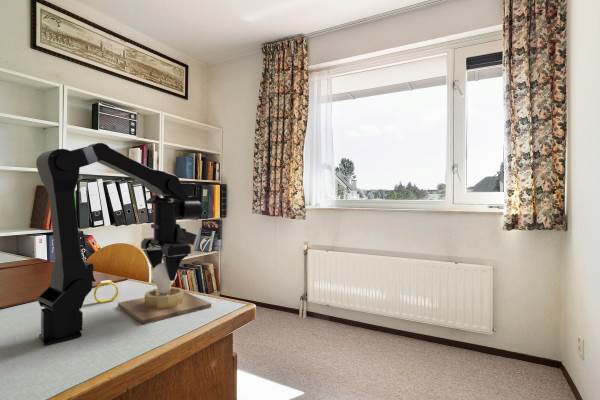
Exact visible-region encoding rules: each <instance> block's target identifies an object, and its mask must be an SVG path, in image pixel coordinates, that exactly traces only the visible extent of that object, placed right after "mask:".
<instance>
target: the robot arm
mask: <svg viewBox="0 0 600 400" xmlns="http://www.w3.org/2000/svg"><path fill="white" fill-rule="evenodd" d="M35 163H36V165H35V166H36V169H37V171H38V175H39V178H40V181H41V183H42V184H43V187H44V188H45V190H46V192H47V195H48V200H49V201H48V202H49V210H50V219H51V220H50V221H51V227H52V236H53V238H52V239H53V245H54V254H55V260H54V263H53V266H52V269H51V273H50V283H49V284H50V285H48V287H46V289H45V290H43V292H41V294H39V295H38V297H37V298H36V300H37V302H38V305H39V307H40V308H41V307H42V308H41V309H40V333H39V335H38V336H39V339H40V341H41V343H42V345H43V346H46V345H52V344H55V343H60V342H64V341H67V340H72V339H76V338H79V337H82V335H83V333H82V331H83V314H84V313H83V311H82V310H81V309H82V307H83V305H84V302H85V300H86V298H87V296H89V294H90V292H91V291H92V289H93V286H94V285H93V283H95V282H96V279H95V276H94V264H93V263H92V262H88V261H84V259H83V257H82V253H81V243H80V234H79V226H78V215H77V207H76V204H77V203H76V197H75V190H76V188H77V184H78V181H79V178H80V170H81V169H80V168H83V167H86V166H90V165H92V164H95V163H97V164H101V165H102V166H105V167H107V168H109V169H111V170H113V171H116V172H118V173H120V174H122V175H124V176H126V177H129V178H130V179H133V180H135V181H137V182H139V183H141V185H142V186H144V188H145V189H147V190H148V191H149V192H151V193H153V194H152V195H151V196H150V197H149V198H148V199H147V200H146V201H145V203H146V204H148V205H153V223H151V224H150V228H151V229H153V237H147V238H143V239H142V240H141V243H140V247H141V249H142V251H143V252H144V254H145V256H146V258H147V260H148V262H149V263H150V264H149V265H150V266H151V268H152V270H153V269H154V268H155V267H156V266H157V265H158V264H160V263H164V264H165V267H166V271H167V274H168V277H169V279H170V281H173V280H176V279H175V277H176V274H177V275H178V271H179V268H180V264H181V263H182V261H183V260H184V259H185V258H187V257H188V256H189V255H190V254H192V246H194V245H195V242H196V239H197V236H198V235H197V234H196V233H192V232H189V231H187V229H186V228H183V227H181V225H180V223H177V220H197V219H199V218H201V216H202V213H203V207H202V203H201V202H200V201H199V199H198V198H199V196H198V195H190V196H189V195H188V194H187V192H186V191H185V190H184V188H183V186H182V184H181V181H180V178H179V177H178V176H177V175H175V174H173V173H171V172H170V173H169V172H166V171H163V170H158V169H153V168H150V167H149V166H147V165H145V164H143V163H141V162H139V161H137V160H136V159H133V158H132V157H129V156H127V155H125V154H123V153H121V152H119V151H118V150H116V149H113V148H111V147H110V146H109V145H107V144H106V143H103V142H96V143H92V144H89V145H87V146H83V147H80V148H76V149H72V150H69V149H66V148H57V149H52V150H47V151H45V152H42V153H41V154H39V156H38V157H36V162H35ZM160 196H161V197H160ZM176 278H177V277H176Z"/></svg>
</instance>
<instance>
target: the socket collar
mask: <svg viewBox="0 0 600 400" xmlns="http://www.w3.org/2000/svg"><path fill="white" fill-rule="evenodd" d="M184 292H185V290H184V289H182V288H180V287H173V286H171V289H170V291H169V296H159V291H158V288H154V289H151V290H148V291H146V292H145V294H144V297H145V306H146V307H147V308H151V309H166V308H171V307H175V306H178V305H180V304H182V303H183V301H184Z"/></svg>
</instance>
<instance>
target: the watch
mask: <svg viewBox="0 0 600 400" xmlns="http://www.w3.org/2000/svg"><path fill="white" fill-rule="evenodd" d="M107 285H112V286H114V288H115V291H116V292H115V295H114V296H113V297H112V298H110V299H105V300H104V299H103V300H101V299H98V298H97V296H96V295H97V290H98V289H99V288H100V287H101V286H107ZM118 295H119V287H118V286H117V285H116V283H114V282H113V281H112V280H111V279H107V280H101V281H100V283H99V284H97V285H96V286H95V288H94V289H93V297H94V299H95V301H96V302H97V303H99V304H104V303H109V302H113V301H114V300H115V299H117V297H118Z"/></svg>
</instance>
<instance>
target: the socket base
mask: <svg viewBox="0 0 600 400" xmlns="http://www.w3.org/2000/svg"><path fill="white" fill-rule="evenodd" d="M117 307H118V308H120V310H122V311H123V312H125V313H126V314H128V315H129V316H130V317H132V318H133V319H134V320H136V321H137V322H139V323H140V324H141V325H146V324H150V323H153V322H156V321H157V322H158V321H162V320H165V319H169V318H174V317H178V316H181V315H185V314H189V313H194V312H198V311H201V310H205V309H209V308H211V307H212V303H211V302H209V301H207V300H204V299H203V298H200V297H197V296H195V295H194V294H191V293H188V292H186V291H184V301H183V303H182V304H180V305H178V306H175V307H171V308H166V309H151V308H147V307H146V306H145V296H144V297H140V298H136V299H135V298H134V299H130V300H126V301H121V302H117Z"/></svg>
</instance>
